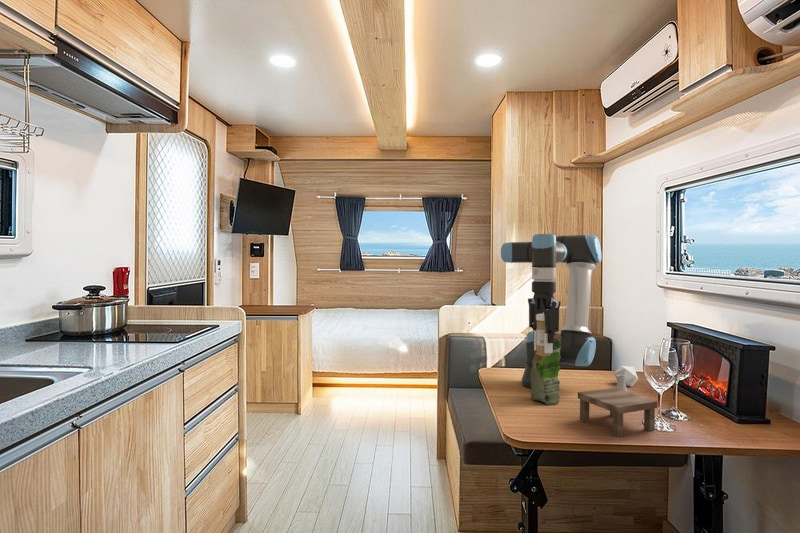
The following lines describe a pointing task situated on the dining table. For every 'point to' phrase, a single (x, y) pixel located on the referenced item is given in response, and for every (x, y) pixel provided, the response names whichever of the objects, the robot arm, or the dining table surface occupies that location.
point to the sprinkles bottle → (540, 334)
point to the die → (627, 375)
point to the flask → (621, 382)
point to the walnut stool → (618, 406)
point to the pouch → (546, 375)
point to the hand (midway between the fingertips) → (543, 351)
